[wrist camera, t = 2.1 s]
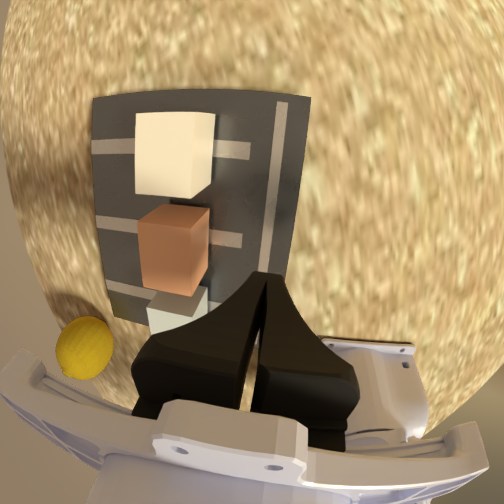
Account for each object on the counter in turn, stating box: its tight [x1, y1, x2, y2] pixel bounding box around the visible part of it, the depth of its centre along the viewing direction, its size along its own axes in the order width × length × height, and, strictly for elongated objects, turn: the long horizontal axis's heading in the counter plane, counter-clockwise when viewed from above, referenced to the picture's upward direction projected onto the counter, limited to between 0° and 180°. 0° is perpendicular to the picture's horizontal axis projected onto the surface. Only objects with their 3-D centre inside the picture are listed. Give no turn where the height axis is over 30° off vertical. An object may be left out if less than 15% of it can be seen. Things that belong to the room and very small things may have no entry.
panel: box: [91, 89, 311, 349], centre depth 18 cm, size 14×18×2 cm
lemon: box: [56, 316, 114, 380], centre depth 22 cm, size 6×6×8 cm
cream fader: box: [135, 112, 215, 199], centre depth 13 cm, size 3×4×3 cm
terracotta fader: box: [137, 203, 210, 297], centre depth 16 cm, size 3×4×3 cm
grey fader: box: [146, 286, 207, 335], centre depth 18 cm, size 3×4×3 cm
